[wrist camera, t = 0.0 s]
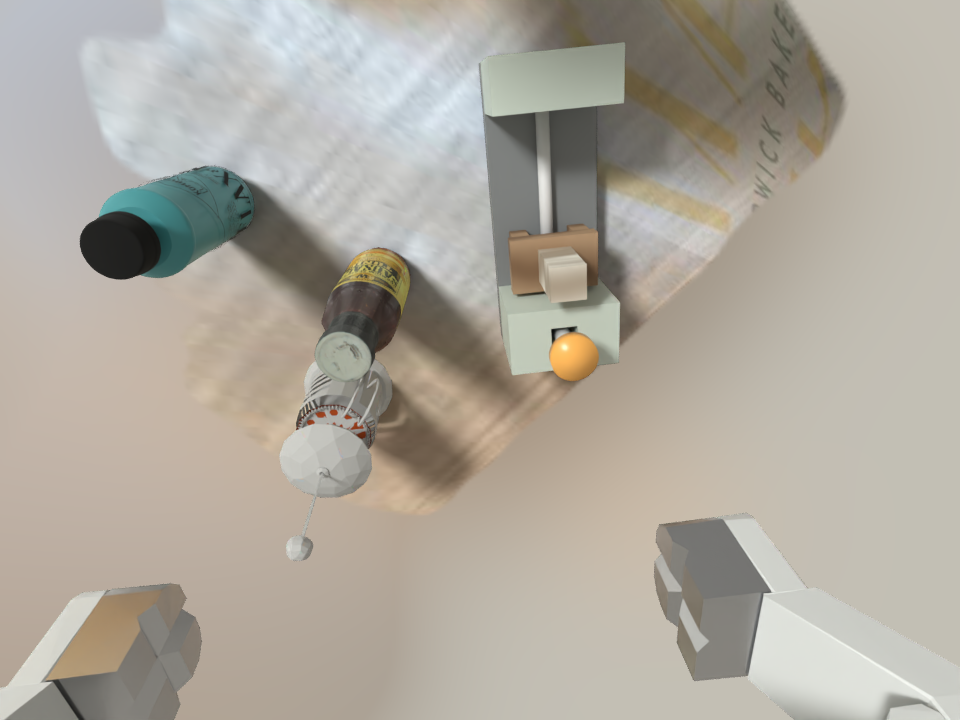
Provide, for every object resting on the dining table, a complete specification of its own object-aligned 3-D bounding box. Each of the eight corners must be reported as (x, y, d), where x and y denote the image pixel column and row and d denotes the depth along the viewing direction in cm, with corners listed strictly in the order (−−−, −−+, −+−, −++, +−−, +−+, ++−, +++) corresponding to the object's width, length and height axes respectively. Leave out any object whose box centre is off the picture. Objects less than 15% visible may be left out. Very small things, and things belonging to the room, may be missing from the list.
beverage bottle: (266, 232, 54) (178, 301, 36) (196, 232, 53) (71, 302, 35) (256, 162, 51) (155, 197, 33) (181, 161, 50) (38, 197, 32)
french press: (288, 399, 62) (201, 573, 39) (339, 319, 58) (276, 461, 35) (364, 439, 65) (324, 622, 42) (418, 365, 61) (405, 523, 38)
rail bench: (478, 63, 48) (487, 56, 39) (590, 52, 49) (625, 42, 40) (501, 333, 60) (512, 375, 51) (591, 323, 60) (618, 363, 51)
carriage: (504, 231, 53) (518, 259, 44) (587, 222, 53) (617, 248, 44) (508, 281, 55) (522, 317, 46) (587, 272, 55) (616, 307, 46)
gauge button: (538, 313, 50) (550, 340, 45) (581, 308, 51) (598, 335, 45) (540, 352, 52) (552, 383, 47) (581, 348, 52) (598, 378, 47)
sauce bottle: (411, 245, 55) (397, 317, 37) (411, 304, 58) (398, 397, 40) (344, 243, 54) (298, 314, 37) (347, 302, 57) (306, 396, 39)
